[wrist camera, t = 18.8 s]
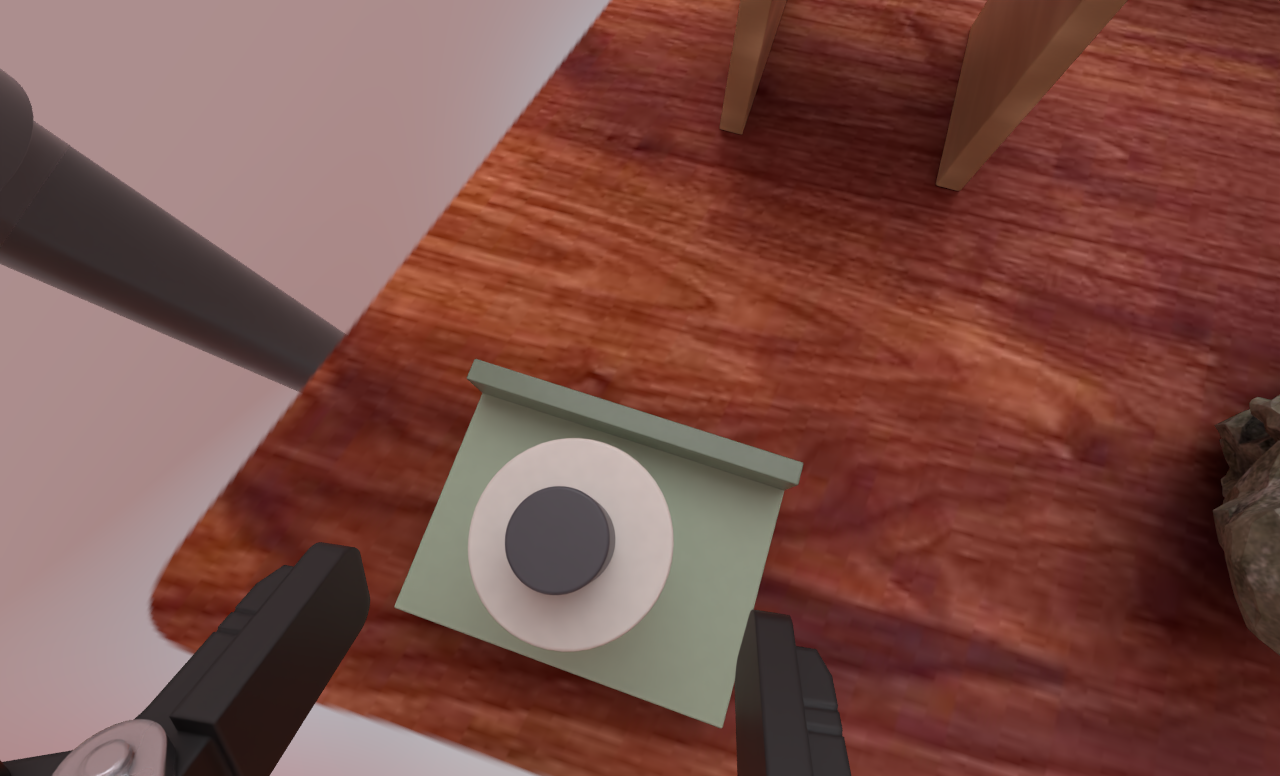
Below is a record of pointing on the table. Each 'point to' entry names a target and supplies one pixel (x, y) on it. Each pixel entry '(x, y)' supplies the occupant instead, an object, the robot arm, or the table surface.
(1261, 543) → the stone
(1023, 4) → the wooden stool
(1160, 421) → the table surface
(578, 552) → the bottle
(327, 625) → the robot arm
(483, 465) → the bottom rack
